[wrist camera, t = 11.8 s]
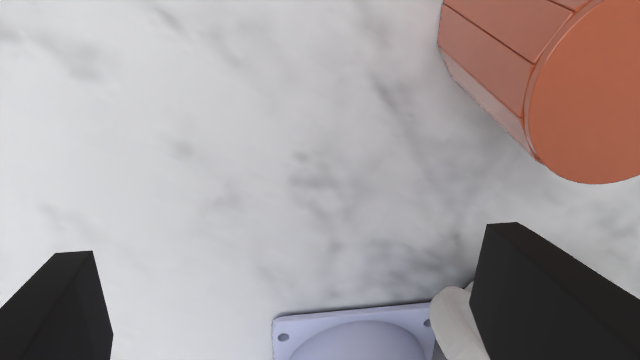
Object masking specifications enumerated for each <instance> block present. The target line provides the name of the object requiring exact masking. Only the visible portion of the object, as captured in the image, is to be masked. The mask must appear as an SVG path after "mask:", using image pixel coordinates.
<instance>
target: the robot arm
mask: <svg viewBox="0 0 640 360" xmlns="http://www.w3.org/2000/svg"><path fill="white" fill-rule="evenodd" d="M429 306H430V302H429V303H418V304H408V305H397V306H387V307H376V308H365V309H355V310H344V311H334V312H323V313H313V314H302V315H291V316H282V317H278V318H276V319H275V320H274V321H273V322H272V340H273V360H432V356H433V351H434V345H435V340H436V337H435V334H434V332H433V329H432V326H431V322H430V318H429ZM469 306H470V309H471V312H472V314H473V317H474V320H475V323H476V326H477V329H478V331H479V334H480V337H481V339H482V342H483V344H484V347H485V349H486V352H487V354H488V356H489V358H490V360H640V299H638V298H636V297H635V296H633V295H631V294H630V293H628V292H627V291H625V290H623V289H622V288H620V287H619V286H617V285H615V284H614V283H612V282H611V281H609V280H608V279H606V278H604V277H603V276H601V275H600V274H598V273H597V272H595V271H594V270H592V269H590V268H589V267H587V266H586V265H584V264H583V263H581V262H580V261H578V260H577V259H575V258H574V257H572V256H571V255H569V254H568V253H566V252H564V251H563V250H561V249H560V248H558V247H557V246H555V245H554V244H552V243H551V242H549V241H547V240H546V239H544V238H543V237H541V236H540V235H538V234H536V233H535V232H533V231H532V230H530V229H528V228H527V227H525V226H523V225H521V224H519V223H518V222H511V223H496V224H487V226H486V230H485V234H484V239H483V243H482V247H481V252H480V256H479V261H478V265H477V269H476V274H475V278H474V282H473V287H472V291H471V295H470V300H469ZM428 319H429V320H428ZM426 320H427V321H426ZM283 333H285V335H280V334H283ZM112 341H113V331H112V327H111V323H110V319H109V315H108V311H107V307H106V303H105V299H104V295H103V291H102V287H101V283H100V279H99V275H98V271H97V267H96V263H95V259H94V255H93V251H79V252H64V253H55V254H54V255H53V256H52V257H51V258H50V259H49V260H48V261H47V262H46V263H45V264H44V265H43V266H42V267H41V268H40V269H39V270H38V271H37V272H36V273H35V274H34V275H33V276H32V277H31V278H30V279H29V280H28V281H27V282H26V283H25V284H24V285H23V286H22V287H21V288H20V289H19V290H18V291H17V292H16V293H15V294H14V295H13V296H12V297H11V298H10V299H9V300H8V301H7V302H6V303H5V304H4V305H3V306H2V307H1V308H0V360H110V355H111V348H112Z"/></svg>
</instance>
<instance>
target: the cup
mask: <svg viewBox="0 0 640 360" xmlns="http://www.w3.org/2000/svg"><path fill="white" fill-rule="evenodd" d="M473 282H474V281H472V282H471V283H470V284H469V285H468V286H467V287H466V288H465V289H462V288H459V287H456V286H448V287H446V288H444V289H443V290H441V291H440V292H439V293H438V294H436V295H435V297H434V298H433V299H432V301H431V303H430V306H429V318H430V322H431V326H432V329H433V332H434V334H435V337H436V340H437V342H438V344H439V346H440V348H441V350H442V352H443V354H444V355H445V357H446V359H447V360H490V358H489V356H488V354H487V352H486V349H485V347H484V344H483V342H482V339H481V337H480V334H479V331H478V329H477V326H476V323H475V320H474V317H473V314H472V312H471V309H470V306H469V300H470V295H471V291H472V287H473Z"/></svg>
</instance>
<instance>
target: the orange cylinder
mask: <svg viewBox="0 0 640 360" xmlns="http://www.w3.org/2000/svg"><path fill="white" fill-rule="evenodd" d="M437 43H438V44H439V45H438V48H439V50H440V52H441V55H442V57H443V59H444V61H445V64H446V66H447V68H448V71H449V73H450V75H451V77H452V78H453V79H454V80H455V81H456V82H457V83H458V84H459V85H460V86H461V87H462V88H463V89H464V90H465V91H466V92H467V93H468V94H469V95H470V96H471V97H472V98H473V99H474V100H475V101H476V102H477V103H478V104H479V105H480V106H481V107H482V108H483V109H484V110H485V111H486V112H487V113H488V114H489V115H490V116H491V117H492V118H493V119H494V120H495V121H496V122H497V123H498V124H499V125H500V126H501V127H502V128H503V129H504V130H505V131H506V132H507V133H508V134H510V135H511V136H512V137H513V138H514V139H515V140H516V141H517V142H518V143H519V144H520V145H521V146H522V147H523V148H524V149H525V150H526V151H527V152H528V153H529V154H530V155H531V156H532V157H533V158H534V159H535V160H536V161H537V162H539V163H541V164H543V165H545V166H546V167H547V168H548V169H549V170H551V171H552V172H554V173H555V174H557V175H558V176H560V177H563V178H565V179H567V180H570V181H574V182H577V183H584V184H606V183H614V182H618V181H622V180H626V179H629V178H632V177H635V176H638V175H640V0H444V4H442V11H441V18H440V26H439V34H438V42H437Z"/></svg>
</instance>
